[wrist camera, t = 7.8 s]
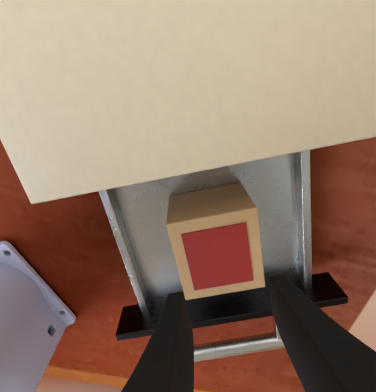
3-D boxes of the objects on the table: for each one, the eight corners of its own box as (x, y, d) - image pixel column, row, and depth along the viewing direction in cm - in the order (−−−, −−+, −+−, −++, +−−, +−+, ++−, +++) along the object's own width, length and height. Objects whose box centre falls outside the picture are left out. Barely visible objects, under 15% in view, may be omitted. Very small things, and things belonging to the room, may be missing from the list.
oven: (312, 117, 17) (404, 138, 10) (84, 163, 18) (20, 213, 11) (309, -130, 13) (473, -407, 6) (5, -53, 14) (-189, -207, 7)
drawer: (327, 316, 23) (345, 345, 20) (138, 346, 24) (133, 378, 21) (330, 112, 16) (358, 116, 14) (67, 165, 17) (47, 178, 15)
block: (249, 249, 20) (266, 288, 16) (184, 261, 20) (185, 301, 16) (241, 182, 17) (257, 208, 14) (168, 196, 18) (165, 225, 14)
